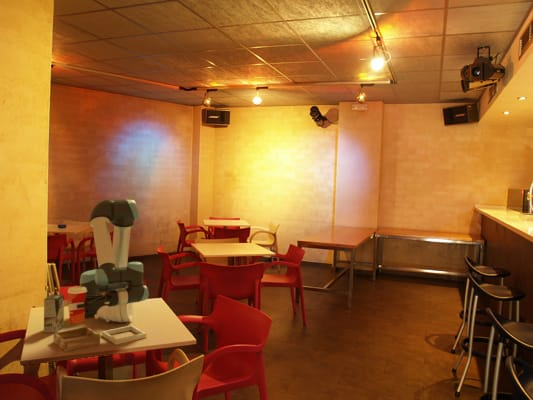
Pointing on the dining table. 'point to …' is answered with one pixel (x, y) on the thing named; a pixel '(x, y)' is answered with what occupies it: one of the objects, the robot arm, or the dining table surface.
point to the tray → (126, 339)
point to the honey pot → (116, 313)
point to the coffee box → (53, 313)
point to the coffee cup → (76, 297)
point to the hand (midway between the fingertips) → (65, 305)
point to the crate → (76, 338)
